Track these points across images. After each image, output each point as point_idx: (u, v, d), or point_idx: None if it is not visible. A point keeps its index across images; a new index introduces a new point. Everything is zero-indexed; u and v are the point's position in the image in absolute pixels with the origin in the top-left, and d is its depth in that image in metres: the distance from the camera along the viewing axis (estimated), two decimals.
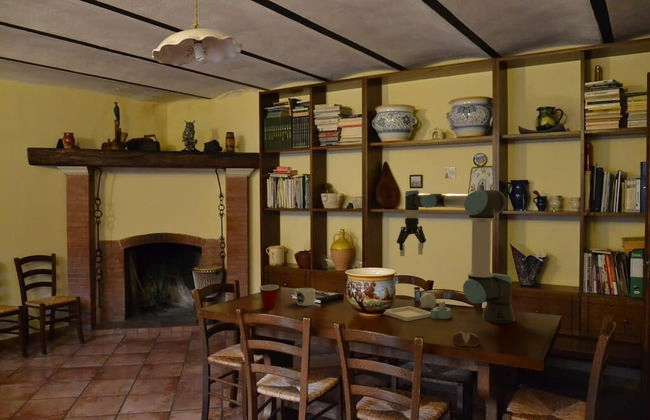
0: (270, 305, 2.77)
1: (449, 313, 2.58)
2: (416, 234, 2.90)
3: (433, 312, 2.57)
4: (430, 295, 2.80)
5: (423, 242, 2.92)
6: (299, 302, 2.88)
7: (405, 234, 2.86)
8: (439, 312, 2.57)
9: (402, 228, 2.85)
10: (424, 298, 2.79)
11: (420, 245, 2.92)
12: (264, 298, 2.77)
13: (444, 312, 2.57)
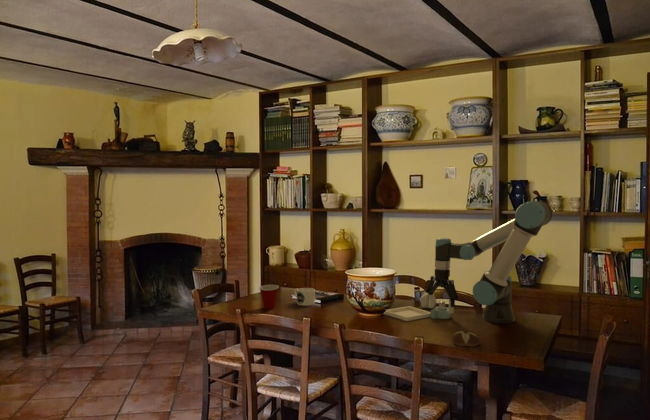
0: (270, 305, 2.77)
1: (449, 313, 2.58)
2: None
3: (433, 312, 2.57)
4: None
5: (450, 300, 2.54)
6: (299, 302, 2.88)
7: None
8: (439, 312, 2.57)
9: None
10: (424, 298, 2.79)
11: None
12: (264, 298, 2.77)
13: (444, 312, 2.57)
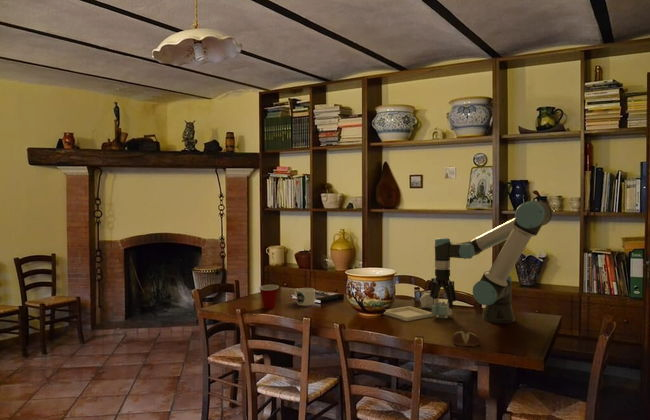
0: (270, 305, 2.77)
1: None
2: None
3: (434, 308, 2.57)
4: None
5: (448, 301, 2.55)
6: (299, 302, 2.88)
7: None
8: (440, 308, 2.57)
9: None
10: (424, 298, 2.79)
11: None
12: (264, 298, 2.77)
13: (445, 308, 2.56)
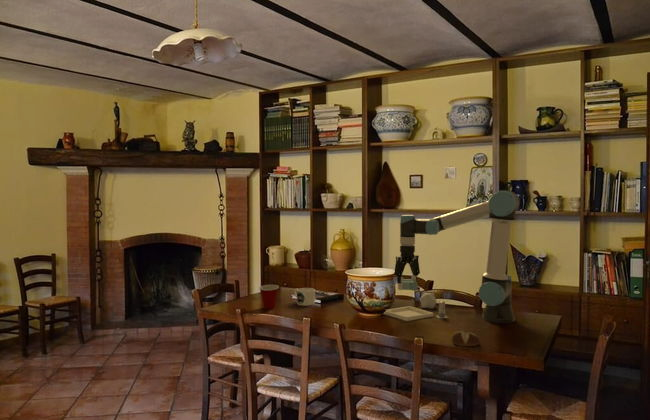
0: (270, 305, 2.77)
1: None
2: (411, 264, 2.65)
3: (416, 284, 2.60)
4: (430, 295, 2.80)
5: (416, 274, 2.66)
6: (299, 302, 2.88)
7: (401, 265, 2.63)
8: None
9: (397, 259, 2.61)
10: (424, 298, 2.79)
11: (413, 278, 2.67)
12: (264, 298, 2.77)
13: None
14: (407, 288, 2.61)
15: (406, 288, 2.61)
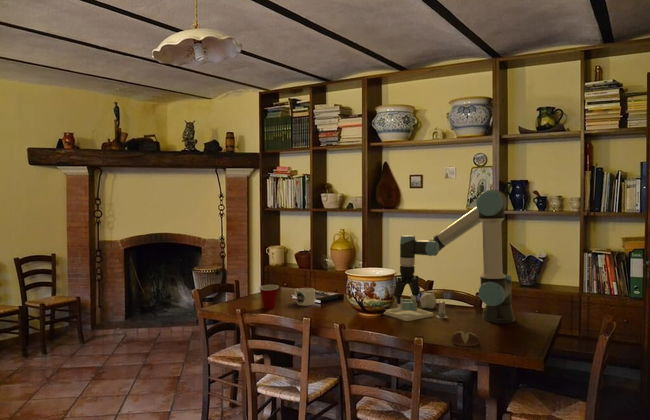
0: (270, 305, 2.77)
1: None
2: (410, 284, 2.66)
3: (416, 304, 2.60)
4: (430, 295, 2.80)
5: (416, 295, 2.67)
6: (299, 302, 2.88)
7: (401, 285, 2.63)
8: None
9: (397, 279, 2.61)
10: (424, 298, 2.79)
11: (413, 298, 2.67)
12: (264, 298, 2.77)
13: (414, 302, 2.66)
14: (406, 309, 2.61)
15: (406, 309, 2.61)
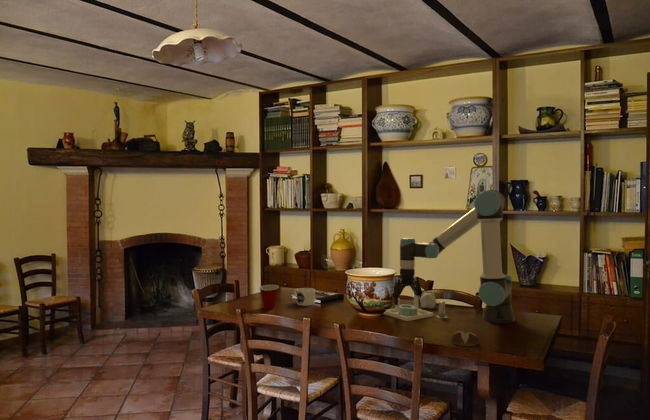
0: (270, 305, 2.77)
1: None
2: (412, 286, 2.66)
3: (416, 310, 2.60)
4: (430, 295, 2.80)
5: (419, 295, 2.68)
6: (299, 302, 2.88)
7: (400, 287, 2.63)
8: None
9: (397, 280, 2.61)
10: (424, 298, 2.79)
11: (416, 298, 2.68)
12: (264, 298, 2.77)
13: None
14: (407, 315, 2.61)
15: (406, 314, 2.61)
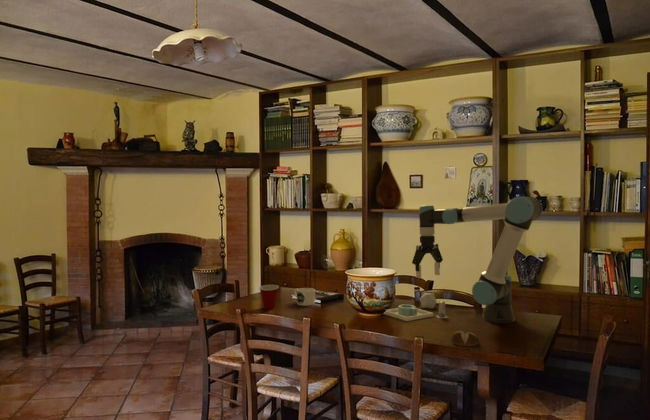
0: (270, 305, 2.77)
1: None
2: (432, 253, 2.67)
3: (416, 310, 2.60)
4: (430, 295, 2.80)
5: (440, 261, 2.69)
6: (299, 302, 2.88)
7: (421, 254, 2.63)
8: None
9: (417, 247, 2.62)
10: (424, 298, 2.79)
11: (437, 265, 2.69)
12: (264, 298, 2.77)
13: None
14: (407, 315, 2.61)
15: (406, 314, 2.61)
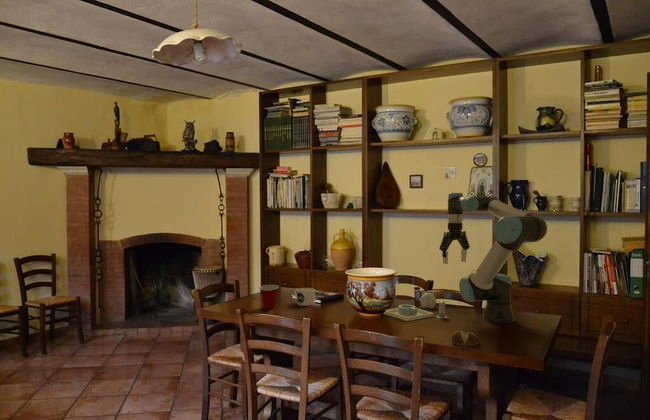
0: (270, 305, 2.77)
1: None
2: (459, 240, 2.70)
3: (416, 310, 2.60)
4: (430, 295, 2.80)
5: (467, 248, 2.72)
6: (299, 302, 2.88)
7: (448, 240, 2.66)
8: None
9: (445, 234, 2.65)
10: (424, 298, 2.79)
11: (463, 252, 2.72)
12: (264, 298, 2.77)
13: None
14: (407, 315, 2.61)
15: (406, 314, 2.61)
